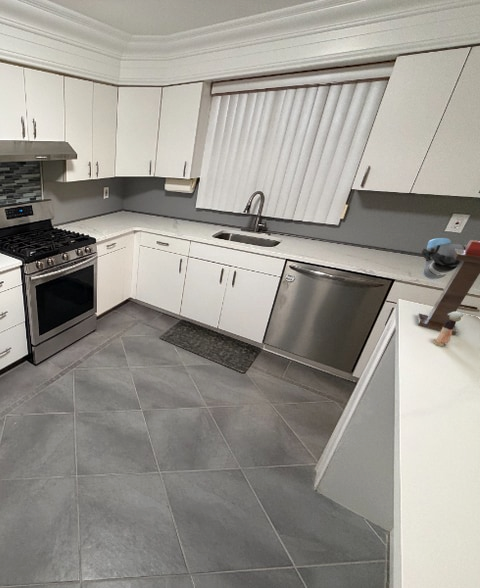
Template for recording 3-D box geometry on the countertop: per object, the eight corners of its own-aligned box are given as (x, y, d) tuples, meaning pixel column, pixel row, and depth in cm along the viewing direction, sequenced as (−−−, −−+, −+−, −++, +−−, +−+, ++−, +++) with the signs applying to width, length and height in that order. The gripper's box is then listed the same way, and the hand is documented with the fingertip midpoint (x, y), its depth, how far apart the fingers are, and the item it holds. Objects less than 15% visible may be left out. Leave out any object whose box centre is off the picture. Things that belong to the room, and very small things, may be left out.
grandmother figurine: (447, 349, 107) (468, 317, 101) (432, 344, 109) (451, 313, 103) (445, 340, 112) (465, 310, 106) (430, 336, 114) (449, 306, 109)
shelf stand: (454, 335, 115) (502, 262, 102) (417, 325, 121) (458, 255, 108) (451, 323, 123) (495, 254, 110) (416, 314, 129) (454, 248, 116)
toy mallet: (490, 257, 107) (498, 245, 105) (465, 253, 111) (472, 241, 109) (482, 248, 117) (489, 237, 115) (459, 245, 121) (466, 234, 119)
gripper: (480, 280, 136) (504, 268, 119) (404, 265, 151) (416, 253, 134) (487, 264, 136) (512, 250, 119) (410, 251, 151) (423, 237, 134)
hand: (461, 251), depth 127 cm, fingers open, 13 cm apart
